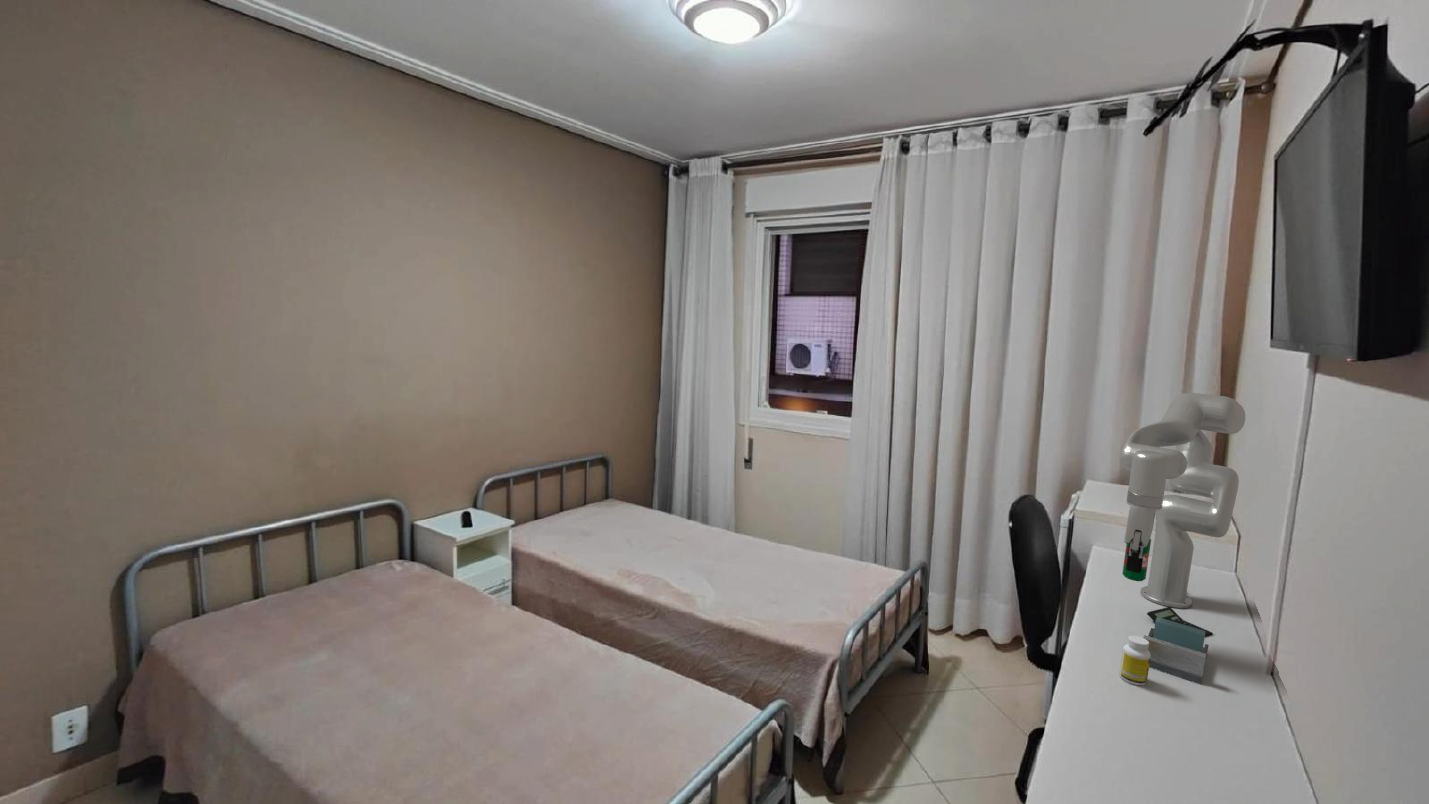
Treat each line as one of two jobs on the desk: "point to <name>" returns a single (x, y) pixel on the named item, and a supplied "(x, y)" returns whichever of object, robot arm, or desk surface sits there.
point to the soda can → (1145, 556)
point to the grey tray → (1176, 659)
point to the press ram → (1179, 634)
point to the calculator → (1173, 618)
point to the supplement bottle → (1135, 661)
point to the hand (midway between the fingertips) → (1135, 567)
